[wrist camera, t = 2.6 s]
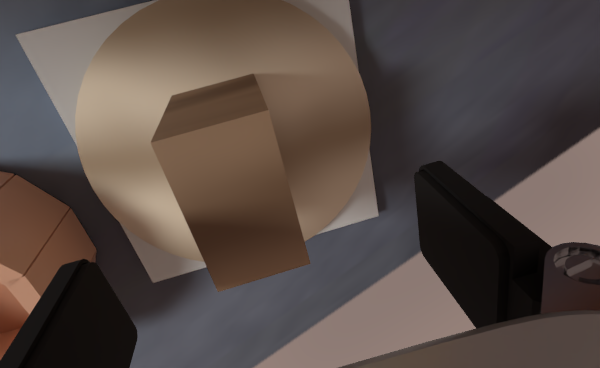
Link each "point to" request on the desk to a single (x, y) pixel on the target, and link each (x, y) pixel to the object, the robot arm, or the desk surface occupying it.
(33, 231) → the bowl
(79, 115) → the lid
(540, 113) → the desk surface
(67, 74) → the mat
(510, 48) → the desk surface
